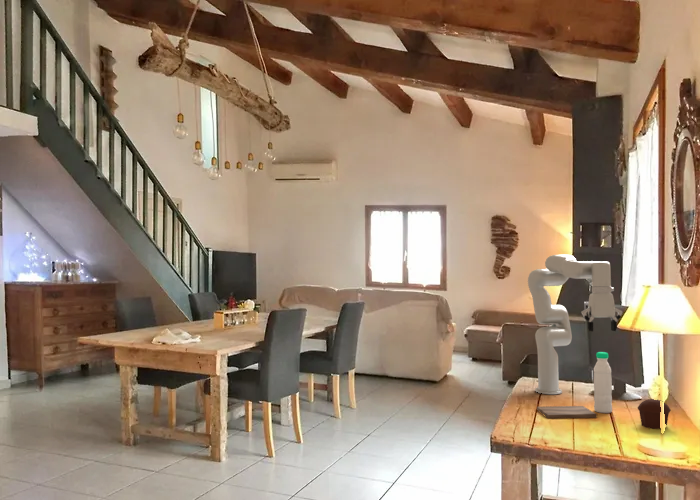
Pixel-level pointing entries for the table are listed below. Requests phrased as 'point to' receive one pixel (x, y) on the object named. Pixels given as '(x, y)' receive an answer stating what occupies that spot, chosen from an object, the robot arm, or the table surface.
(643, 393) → the table surface
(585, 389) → the table surface
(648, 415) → the muffin
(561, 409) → the walnut board
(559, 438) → the table surface
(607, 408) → the water bottle
